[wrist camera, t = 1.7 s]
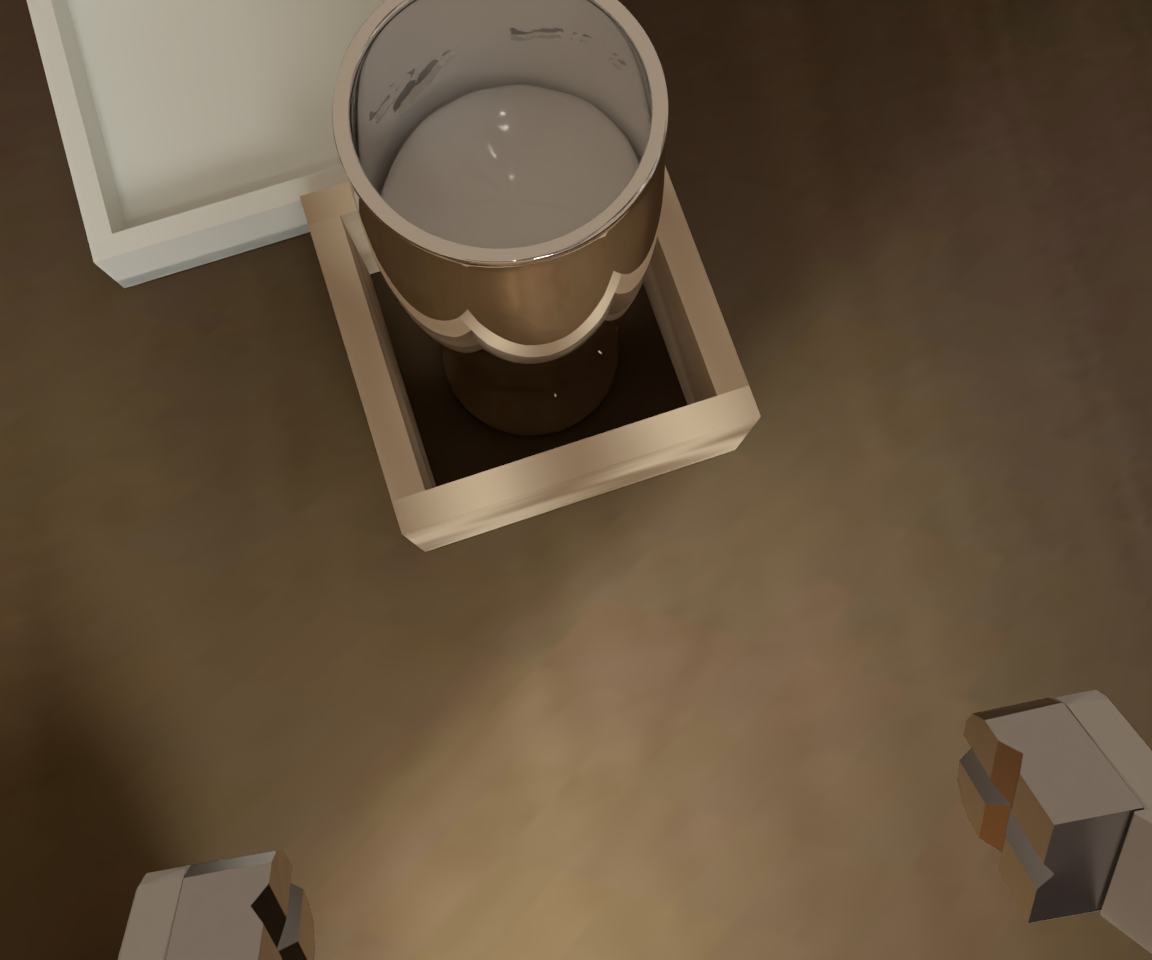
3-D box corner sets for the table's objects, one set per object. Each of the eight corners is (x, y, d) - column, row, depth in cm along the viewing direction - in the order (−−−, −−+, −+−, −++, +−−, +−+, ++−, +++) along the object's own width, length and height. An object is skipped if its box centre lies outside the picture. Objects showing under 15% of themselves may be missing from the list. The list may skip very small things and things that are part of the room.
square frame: (629, 167, 35) (638, 94, 30) (735, 449, 33) (760, 416, 28) (334, 257, 34) (299, 196, 29) (425, 551, 32) (401, 534, 28)
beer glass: (396, 399, 33) (255, 185, 18) (484, 227, 34) (419, -104, 19) (580, 482, 32) (589, 332, 18) (663, 305, 34) (736, 26, 19)
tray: (388, -135, 37) (376, -184, 35) (494, 175, 34) (489, 143, 32) (39, -37, 36) (5, -82, 34) (124, 288, 34) (93, 262, 31)
